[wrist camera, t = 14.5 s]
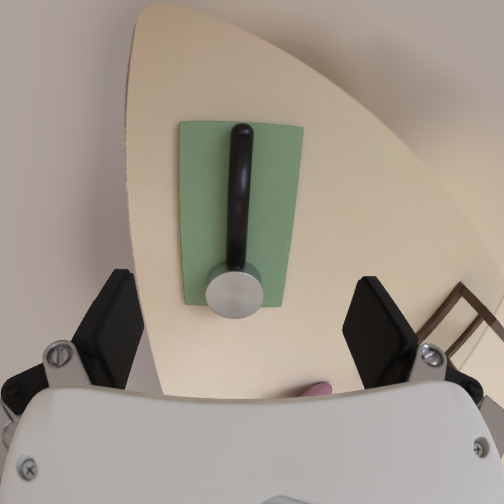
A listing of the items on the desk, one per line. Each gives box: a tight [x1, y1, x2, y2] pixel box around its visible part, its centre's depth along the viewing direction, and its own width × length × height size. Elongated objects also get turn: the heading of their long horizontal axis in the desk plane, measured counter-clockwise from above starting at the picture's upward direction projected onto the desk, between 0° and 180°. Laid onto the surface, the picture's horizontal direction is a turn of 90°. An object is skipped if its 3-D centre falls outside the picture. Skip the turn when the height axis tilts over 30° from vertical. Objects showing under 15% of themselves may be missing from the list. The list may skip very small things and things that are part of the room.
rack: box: [416, 282, 504, 371], centre depth 27 cm, size 11×13×8 cm
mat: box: [179, 121, 303, 307], centre depth 22 cm, size 16×9×1 cm, turn 176°
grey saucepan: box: [206, 123, 264, 319], centre depth 21 cm, size 16×5×2 cm, turn 176°
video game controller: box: [299, 383, 332, 397], centre depth 32 cm, size 10×5×7 cm, turn 169°
